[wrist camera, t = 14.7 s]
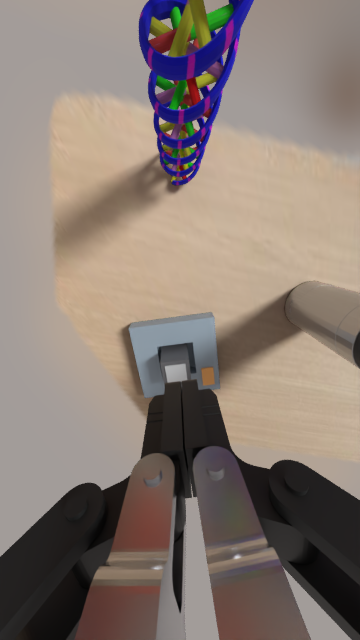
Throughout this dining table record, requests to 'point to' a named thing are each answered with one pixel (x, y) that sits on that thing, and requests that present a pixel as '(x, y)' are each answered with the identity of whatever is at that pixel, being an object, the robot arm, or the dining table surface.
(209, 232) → the dining table surface
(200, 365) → the socket plate
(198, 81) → the dna model
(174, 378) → the plug
